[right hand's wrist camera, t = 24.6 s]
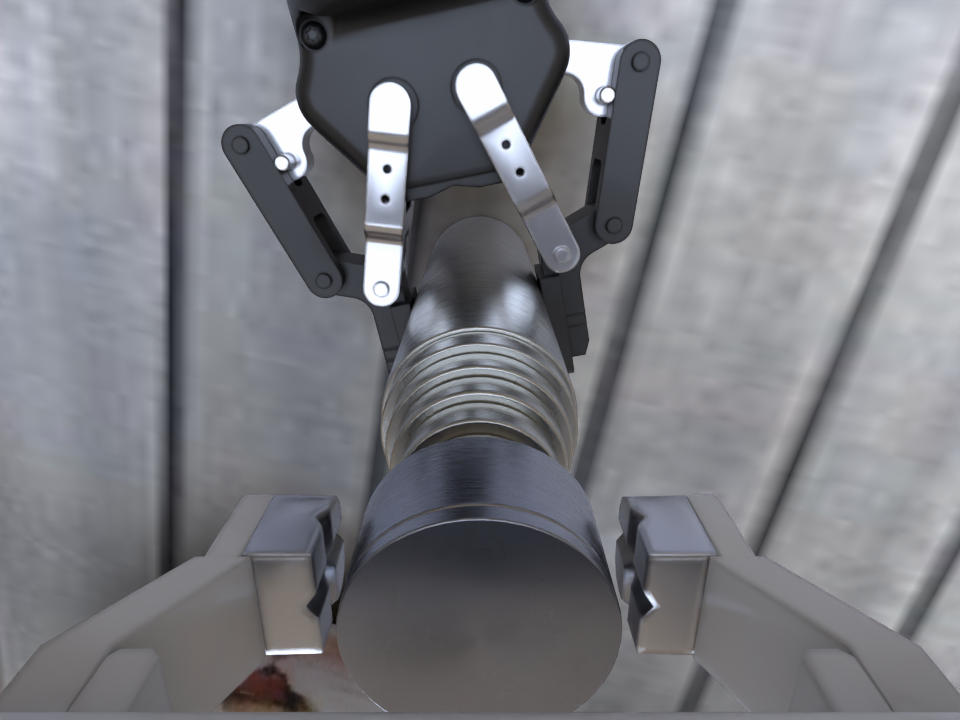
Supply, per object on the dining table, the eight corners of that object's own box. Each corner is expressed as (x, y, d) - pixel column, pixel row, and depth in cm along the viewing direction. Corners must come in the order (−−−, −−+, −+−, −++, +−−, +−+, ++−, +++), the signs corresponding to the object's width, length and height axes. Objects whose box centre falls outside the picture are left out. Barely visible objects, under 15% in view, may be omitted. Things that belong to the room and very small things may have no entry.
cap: (573, 412, 9) (597, 491, 8) (611, 605, 11) (640, 715, 9) (332, 461, 10) (295, 550, 8) (399, 643, 11) (381, 758, 9)
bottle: (441, 205, 28) (348, 434, 8) (540, 229, 28) (681, 503, 8) (421, 300, 29) (302, 687, 10) (514, 322, 30) (583, 735, 10)
